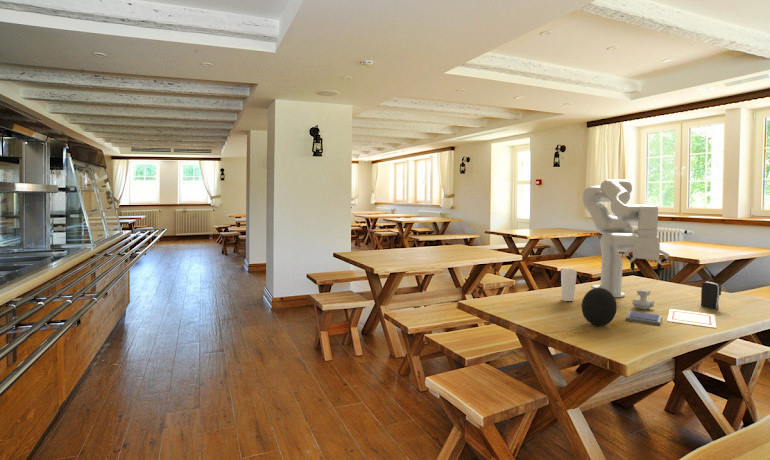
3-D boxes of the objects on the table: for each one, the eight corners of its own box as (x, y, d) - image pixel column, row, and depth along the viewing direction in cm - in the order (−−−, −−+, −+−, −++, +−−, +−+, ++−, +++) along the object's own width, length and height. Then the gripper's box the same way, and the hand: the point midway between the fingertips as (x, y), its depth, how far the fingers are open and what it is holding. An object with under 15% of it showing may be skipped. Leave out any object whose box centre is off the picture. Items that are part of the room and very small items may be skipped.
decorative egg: (582, 319, 183) (584, 283, 182) (616, 323, 177) (618, 286, 175) (579, 327, 172) (580, 289, 171) (614, 332, 166) (616, 293, 165)
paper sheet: (667, 321, 180) (667, 320, 180) (669, 309, 198) (669, 308, 198) (716, 328, 171) (716, 327, 171) (714, 315, 189) (714, 314, 189)
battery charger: (721, 308, 199) (723, 283, 198) (715, 309, 198) (717, 284, 197) (705, 304, 206) (707, 280, 204) (699, 305, 204) (701, 281, 203)
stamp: (657, 309, 198) (658, 291, 197) (650, 311, 194) (651, 293, 193) (636, 305, 205) (637, 287, 204) (628, 307, 201) (629, 289, 201)
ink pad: (625, 320, 181) (625, 316, 181) (629, 313, 191) (629, 310, 191) (660, 325, 175) (660, 321, 174) (661, 318, 184) (662, 314, 184)
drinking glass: (557, 299, 216) (558, 268, 215) (570, 298, 217) (572, 268, 215) (564, 302, 210) (565, 271, 208) (578, 302, 210) (579, 271, 209)
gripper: (624, 233, 198) (622, 270, 200) (669, 234, 188) (667, 274, 190) (626, 231, 204) (624, 268, 206) (670, 233, 194) (668, 272, 196)
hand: (645, 271), depth 198 cm, fingers open, 9 cm apart
